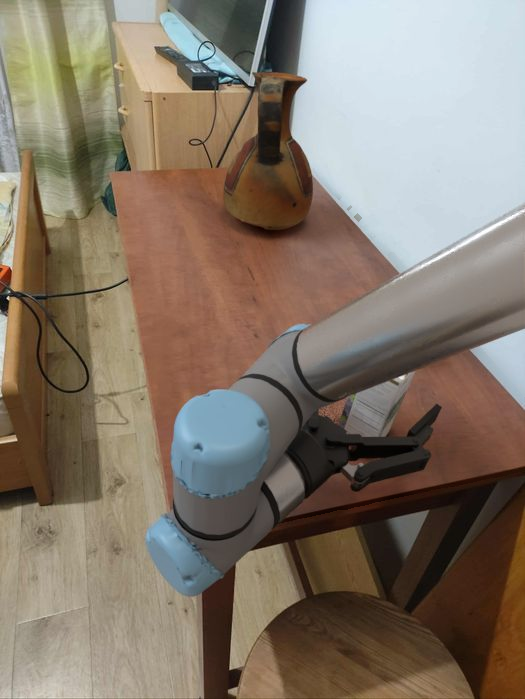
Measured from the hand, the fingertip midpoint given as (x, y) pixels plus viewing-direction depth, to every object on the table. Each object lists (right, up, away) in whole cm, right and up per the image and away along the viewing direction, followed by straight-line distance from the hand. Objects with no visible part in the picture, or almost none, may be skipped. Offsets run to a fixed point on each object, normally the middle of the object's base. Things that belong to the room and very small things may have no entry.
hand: (390, 382), depth 67 cm
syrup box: (-3, -7, +3) cm, 9 cm away
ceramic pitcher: (-16, +34, +50) cm, 62 cm away
